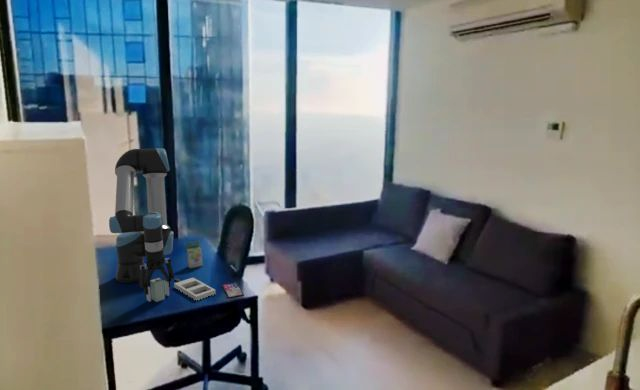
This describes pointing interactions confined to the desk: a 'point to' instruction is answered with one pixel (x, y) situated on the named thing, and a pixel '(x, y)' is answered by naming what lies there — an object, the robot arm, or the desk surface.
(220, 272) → the desk surface
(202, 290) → the white compartment tray
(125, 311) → the desk surface
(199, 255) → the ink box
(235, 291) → the smartphone
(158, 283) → the block
